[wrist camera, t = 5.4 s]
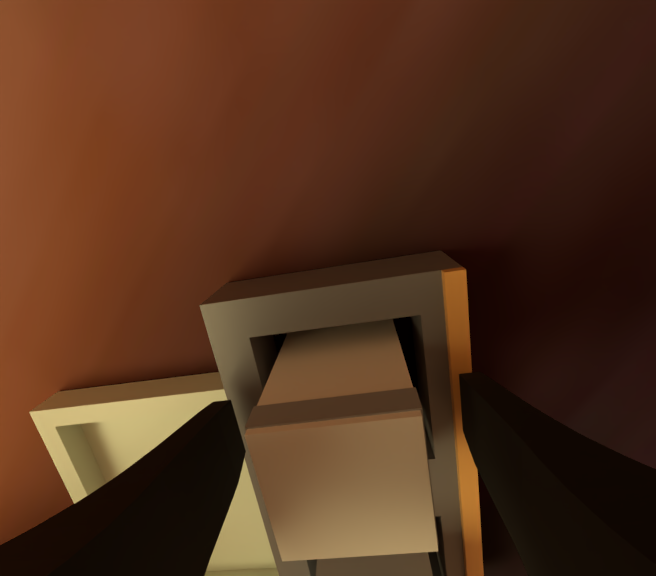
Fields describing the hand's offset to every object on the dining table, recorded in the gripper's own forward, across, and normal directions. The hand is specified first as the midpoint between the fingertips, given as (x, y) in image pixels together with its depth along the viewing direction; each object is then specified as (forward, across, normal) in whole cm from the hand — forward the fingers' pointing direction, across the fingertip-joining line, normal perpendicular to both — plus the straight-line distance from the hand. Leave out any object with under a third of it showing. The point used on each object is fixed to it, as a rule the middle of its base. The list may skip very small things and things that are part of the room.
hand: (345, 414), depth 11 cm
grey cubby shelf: (+3, 0, +4) cm, 5 cm away
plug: (+3, 0, 0) cm, 3 cm away
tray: (+3, +8, +6) cm, 10 cm away
